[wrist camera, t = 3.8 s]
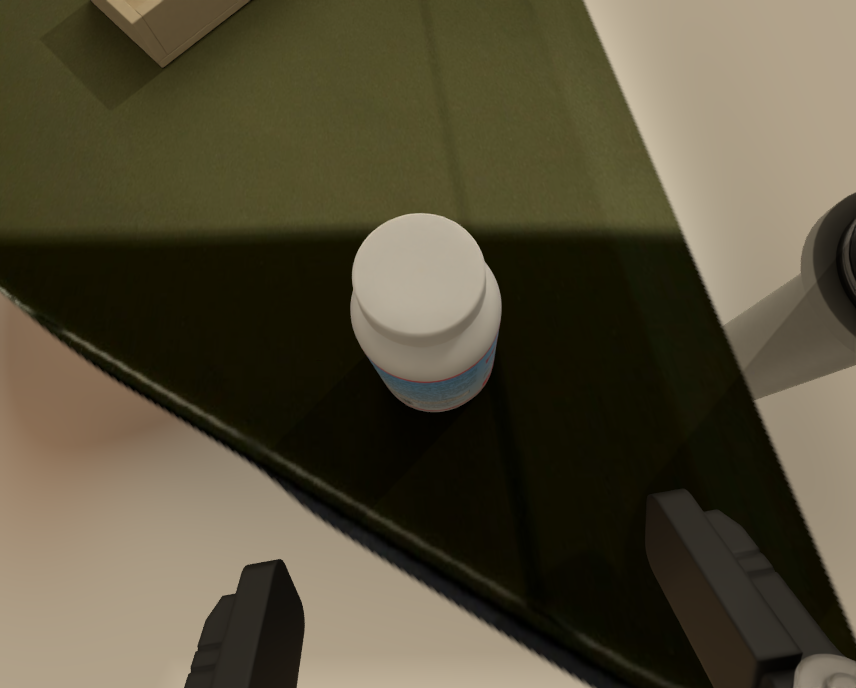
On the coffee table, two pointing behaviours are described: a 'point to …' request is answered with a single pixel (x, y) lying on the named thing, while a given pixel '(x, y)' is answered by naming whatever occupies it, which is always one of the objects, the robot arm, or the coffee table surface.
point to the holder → (167, 22)
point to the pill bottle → (426, 310)
